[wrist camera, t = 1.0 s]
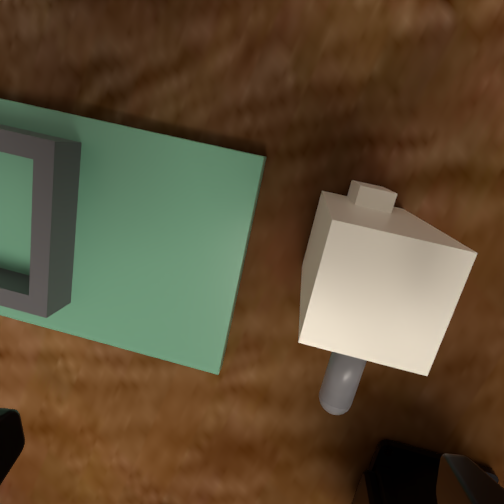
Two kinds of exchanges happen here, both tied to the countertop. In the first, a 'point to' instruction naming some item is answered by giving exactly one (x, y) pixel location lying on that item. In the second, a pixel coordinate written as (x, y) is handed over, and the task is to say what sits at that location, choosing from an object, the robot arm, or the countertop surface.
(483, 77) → the countertop surface
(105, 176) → the board
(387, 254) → the plug
